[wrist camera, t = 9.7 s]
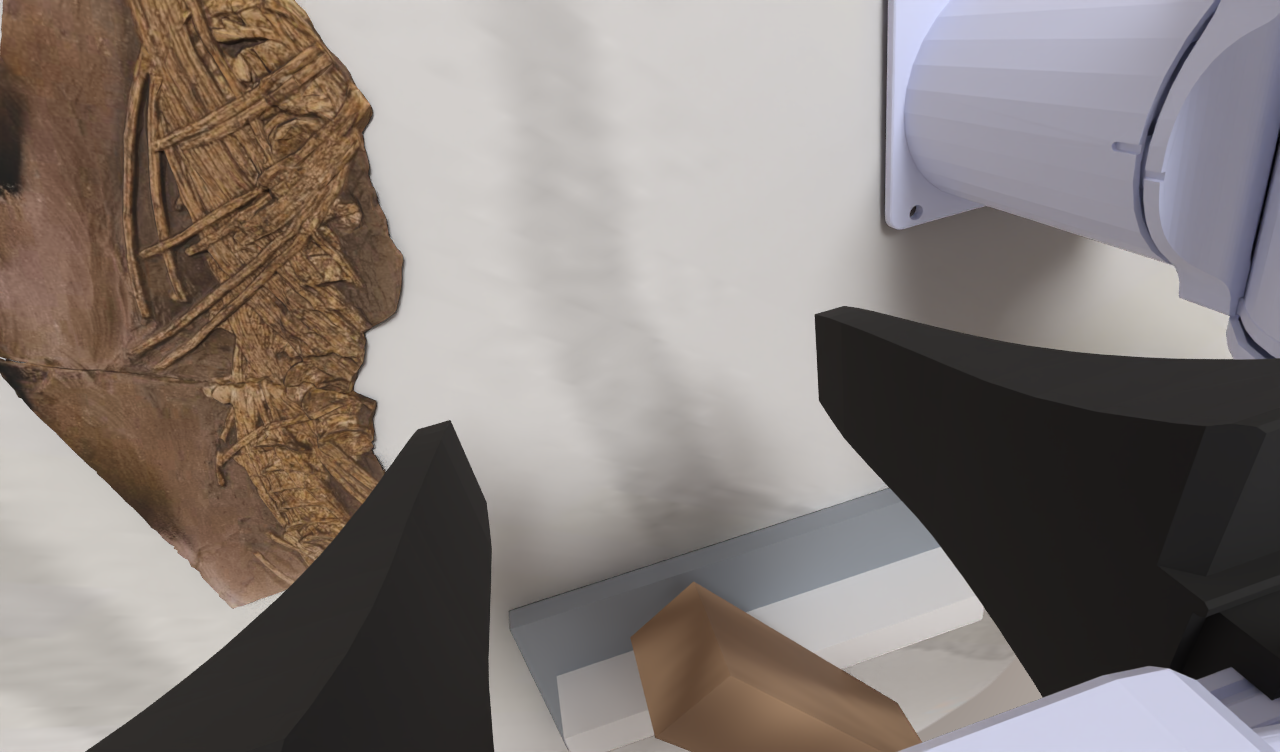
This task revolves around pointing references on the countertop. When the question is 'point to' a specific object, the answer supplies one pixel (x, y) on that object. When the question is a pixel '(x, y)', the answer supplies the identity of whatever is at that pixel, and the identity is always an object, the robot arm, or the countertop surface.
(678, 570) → the balance stand
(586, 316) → the countertop surface
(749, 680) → the walnut batten
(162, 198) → the fossil skeleton slab
